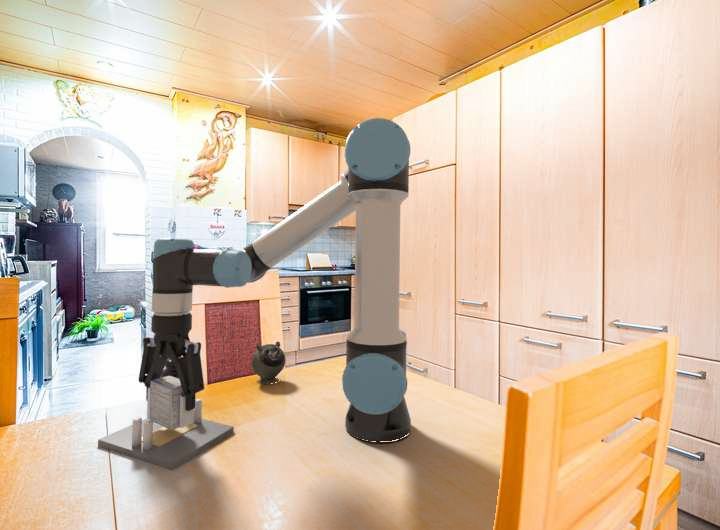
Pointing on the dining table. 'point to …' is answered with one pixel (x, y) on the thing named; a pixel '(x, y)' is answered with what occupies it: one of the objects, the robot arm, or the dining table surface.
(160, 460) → the pin tray
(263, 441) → the dining table surface
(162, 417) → the medicine box
